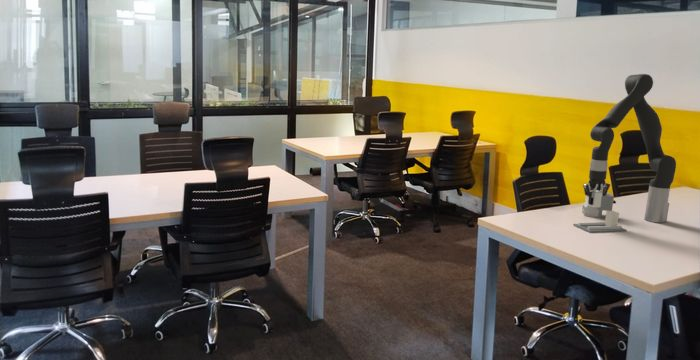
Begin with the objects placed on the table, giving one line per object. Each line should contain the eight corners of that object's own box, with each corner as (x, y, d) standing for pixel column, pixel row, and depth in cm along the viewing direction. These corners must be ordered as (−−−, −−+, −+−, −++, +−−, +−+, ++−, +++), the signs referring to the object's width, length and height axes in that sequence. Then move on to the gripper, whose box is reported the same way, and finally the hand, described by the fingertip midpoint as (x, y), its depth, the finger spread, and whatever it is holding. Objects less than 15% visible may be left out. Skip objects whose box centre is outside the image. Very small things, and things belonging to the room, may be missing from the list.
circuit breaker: (614, 218, 305) (618, 189, 302) (584, 215, 307) (588, 186, 304) (611, 215, 312) (615, 186, 309) (581, 212, 314) (585, 183, 312)
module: (593, 204, 295) (595, 190, 293) (600, 207, 290) (602, 192, 289) (587, 204, 294) (588, 190, 292) (594, 207, 289) (595, 192, 288)
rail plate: (609, 224, 293) (611, 208, 291) (626, 231, 282) (628, 215, 280) (573, 225, 287) (575, 209, 286) (589, 232, 276) (591, 216, 274)
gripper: (605, 167, 293) (601, 202, 297) (580, 168, 289) (576, 203, 293) (616, 170, 286) (612, 205, 290) (590, 170, 282) (586, 207, 286)
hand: (594, 204), depth 291 cm, fingers closed on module, 3 cm apart
